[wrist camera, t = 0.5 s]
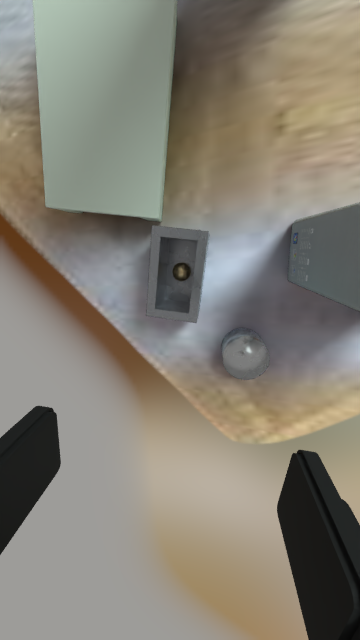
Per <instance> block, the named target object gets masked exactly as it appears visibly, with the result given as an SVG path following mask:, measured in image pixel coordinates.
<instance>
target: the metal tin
mask: <svg viewBox="0 0 360 640" xmlns="http://www.w3.org/2000/svg"><path fill="white" fill-rule="evenodd" d="M222 358H223V365H224V367H225V369H226V370H227V372H228V373H229V374H230V375H232V376H233V377H235V378H238V379H243V380H249V379H254V378H256V377H258V376H260V375H261V374H263V373H264V372H265V370H266V369H267V367H268V365H269V361H270V357H269V352H268V350H267V348H266V346H265V345H264V343H263V341H262V339H261V337H260V336H259V335H258V334H257V333H256V332H254V331H252V330H250V329H245V328H240V329H236V330H233V331H231V332H230V333H228V334H227V335H226V336H225V338H224V340H223V342H222Z"/></svg>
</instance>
